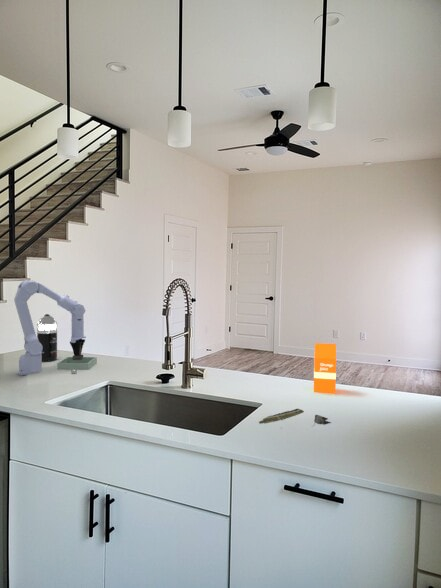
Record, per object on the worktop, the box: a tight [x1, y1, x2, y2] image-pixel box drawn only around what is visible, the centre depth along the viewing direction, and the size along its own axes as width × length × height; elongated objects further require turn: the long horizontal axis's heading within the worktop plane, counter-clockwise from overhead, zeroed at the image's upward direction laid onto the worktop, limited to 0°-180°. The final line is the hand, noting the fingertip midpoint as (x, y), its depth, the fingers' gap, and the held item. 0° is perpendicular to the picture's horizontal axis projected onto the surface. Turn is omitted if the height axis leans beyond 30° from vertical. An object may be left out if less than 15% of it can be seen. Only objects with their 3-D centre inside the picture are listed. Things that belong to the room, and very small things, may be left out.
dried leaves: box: [258, 408, 332, 429], centre depth 141 cm, size 25×19×2 cm
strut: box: [72, 346, 84, 360], centre depth 213 cm, size 4×4×7 cm
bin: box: [56, 356, 98, 371], centre depth 213 cm, size 15×15×4 cm
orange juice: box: [313, 342, 337, 394], centre depth 179 cm, size 8×9×20 cm
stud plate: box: [70, 369, 78, 375], centre depth 198 cm, size 10×10×3 cm
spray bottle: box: [36, 313, 58, 362], centre depth 230 cm, size 10×10×25 cm
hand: (77, 354), depth 213 cm, fingers closed on strut, 3 cm apart
